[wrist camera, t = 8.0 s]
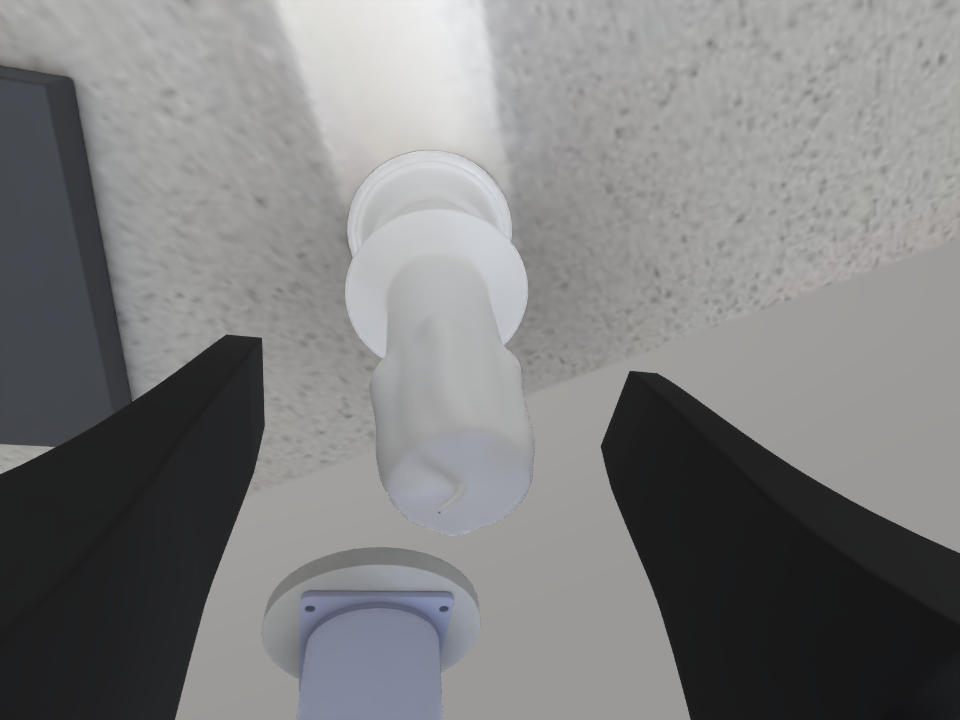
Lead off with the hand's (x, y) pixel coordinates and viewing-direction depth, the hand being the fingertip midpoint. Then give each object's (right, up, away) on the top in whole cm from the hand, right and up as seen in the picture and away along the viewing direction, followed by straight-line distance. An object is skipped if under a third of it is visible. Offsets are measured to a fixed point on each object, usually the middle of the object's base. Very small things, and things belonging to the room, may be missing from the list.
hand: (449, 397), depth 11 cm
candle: (-1, +5, +7) cm, 9 cm away
